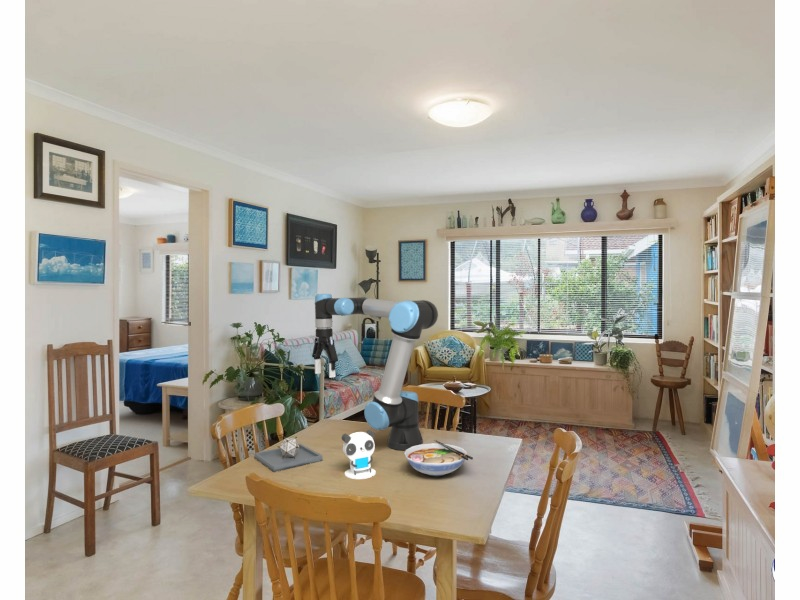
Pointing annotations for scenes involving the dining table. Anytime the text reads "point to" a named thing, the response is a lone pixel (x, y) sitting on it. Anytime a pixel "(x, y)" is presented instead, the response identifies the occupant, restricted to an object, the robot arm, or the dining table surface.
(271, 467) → the tray
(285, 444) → the game die
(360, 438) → the panda figurine
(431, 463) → the ramen bowl
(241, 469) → the dining table surface
